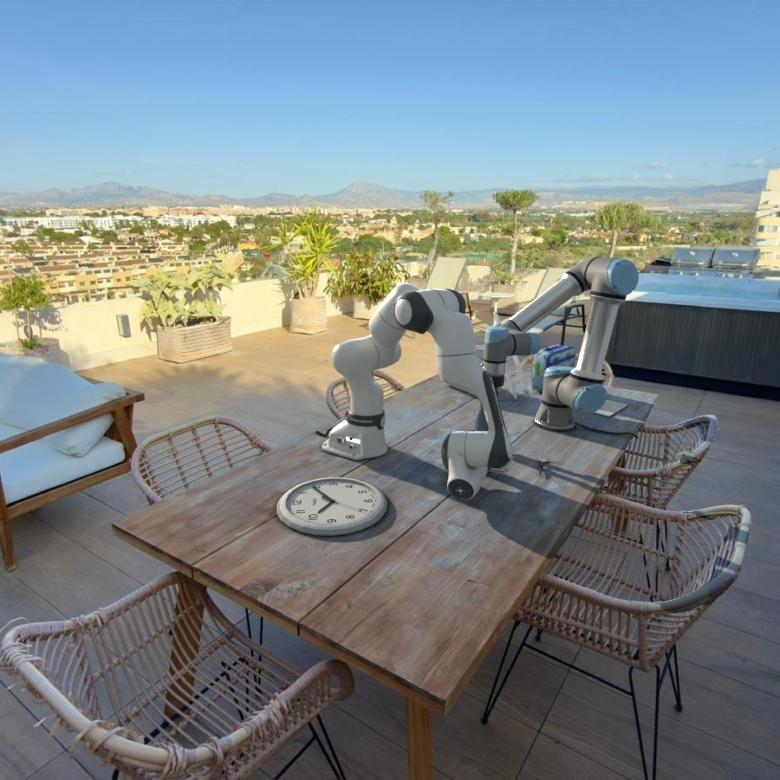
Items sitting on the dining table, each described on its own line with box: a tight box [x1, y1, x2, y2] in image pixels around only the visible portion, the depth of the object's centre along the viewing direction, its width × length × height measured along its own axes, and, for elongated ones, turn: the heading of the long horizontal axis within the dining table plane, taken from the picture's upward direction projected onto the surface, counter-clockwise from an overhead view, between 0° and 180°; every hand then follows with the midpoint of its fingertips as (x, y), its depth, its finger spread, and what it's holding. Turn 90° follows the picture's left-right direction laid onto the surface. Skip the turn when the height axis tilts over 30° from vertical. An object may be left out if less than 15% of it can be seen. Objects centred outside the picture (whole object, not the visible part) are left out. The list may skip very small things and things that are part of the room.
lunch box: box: [530, 344, 577, 392], centre depth 247 cm, size 26×11×21 cm, turn 134°
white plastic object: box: [440, 310, 531, 400], centre depth 245 cm, size 37×45×31 cm
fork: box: [538, 451, 548, 475], centre depth 168 cm, size 3×16×2 cm, turn 160°
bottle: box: [474, 400, 490, 473], centre depth 162 cm, size 6×6×23 cm
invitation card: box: [593, 399, 629, 418], centre depth 226 cm, size 21×1×15 cm
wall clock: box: [276, 476, 388, 537], centre depth 142 cm, size 30×2×30 cm
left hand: (482, 448), depth 164 cm, fingers closed on bottle, 5 cm apart
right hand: (487, 438), depth 181 cm, fingers closed on cap, 4 cm apart
